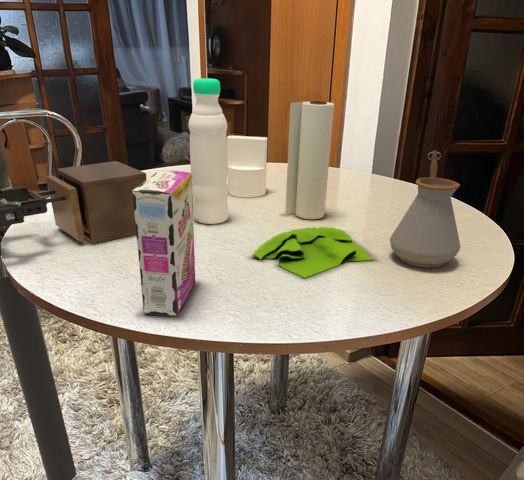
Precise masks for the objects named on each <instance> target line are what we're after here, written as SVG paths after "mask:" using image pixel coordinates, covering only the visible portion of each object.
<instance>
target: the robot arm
mask: <svg viewBox="0 0 524 480" xmlns="http://www.w3.org/2000/svg"><path fill="white" fill-rule="evenodd" d="M10 177H11V176H10V173H9V169H8V164H7V160H6V156H5V151H4V147H3V143H2V139H1V137H0V226H2V227H7V226H6V225H8V226H13V225H17V224H23V223H25V217H29V216H30V217H31V216H36V215H42V214H46V213H47V212H48V204H47V205H46V201H45V200H44V199H42V198H40V199H34V200H31V199H30V198H29V197H28V195H27V194H28V192H29V189H28V188H26V187H25V186H21V187H13V186H12V182H11V178H10ZM11 211H13V212H14V214H10V213H9V212H11ZM12 224H13V225H12Z"/></svg>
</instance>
